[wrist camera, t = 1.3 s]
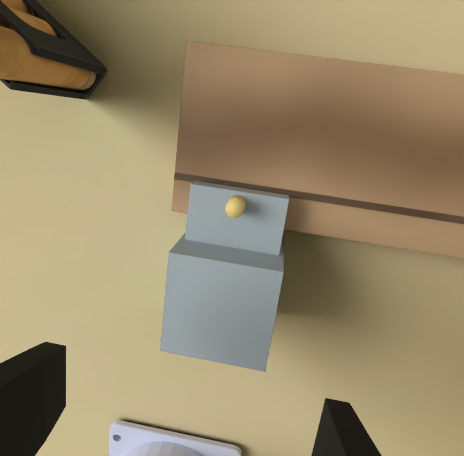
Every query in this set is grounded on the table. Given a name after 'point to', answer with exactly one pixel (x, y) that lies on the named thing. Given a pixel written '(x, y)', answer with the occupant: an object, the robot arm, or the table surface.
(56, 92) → the ammunition clip
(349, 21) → the table surface
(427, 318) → the table surface
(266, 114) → the board
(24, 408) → the robot arm
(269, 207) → the grey stepped block
